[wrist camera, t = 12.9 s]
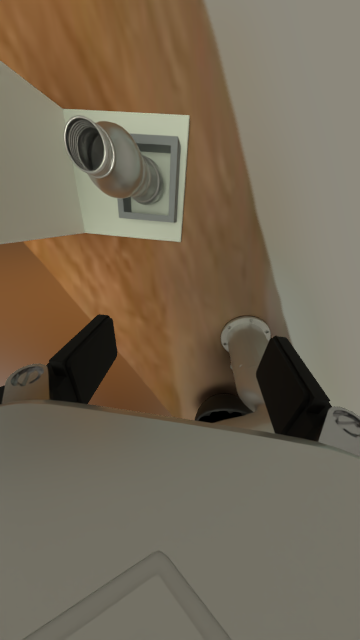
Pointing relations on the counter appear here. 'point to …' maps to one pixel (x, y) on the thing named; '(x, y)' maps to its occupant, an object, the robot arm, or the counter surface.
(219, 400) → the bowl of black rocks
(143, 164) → the grey tall bottle shape
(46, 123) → the socket stand
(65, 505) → the robot arm
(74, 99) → the counter surface
